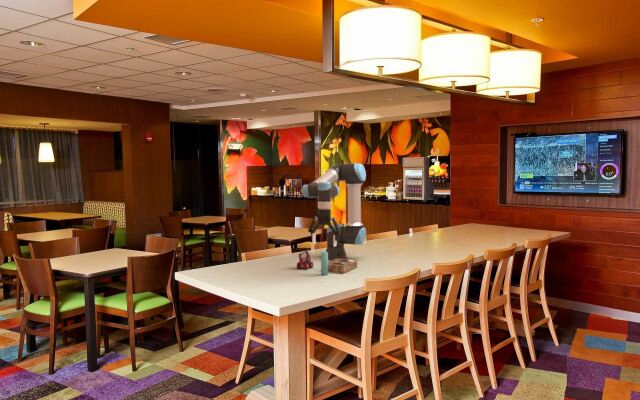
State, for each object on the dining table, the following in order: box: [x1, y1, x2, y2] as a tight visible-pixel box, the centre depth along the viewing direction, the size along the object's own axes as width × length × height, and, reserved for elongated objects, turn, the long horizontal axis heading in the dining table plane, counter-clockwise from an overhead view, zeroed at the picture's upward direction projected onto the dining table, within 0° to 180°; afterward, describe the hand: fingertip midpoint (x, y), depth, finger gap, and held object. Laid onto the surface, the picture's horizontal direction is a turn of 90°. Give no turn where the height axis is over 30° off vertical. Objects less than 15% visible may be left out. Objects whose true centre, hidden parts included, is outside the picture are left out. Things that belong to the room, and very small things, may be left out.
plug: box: [320, 251, 329, 276], centre depth 277 cm, size 4×4×13 cm
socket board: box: [328, 259, 358, 275], centre depth 292 cm, size 14×20×5 cm
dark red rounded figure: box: [296, 250, 314, 271], centre depth 296 cm, size 7×12×10 cm, turn 151°
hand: (324, 245), depth 277 cm, fingers open, 13 cm apart
